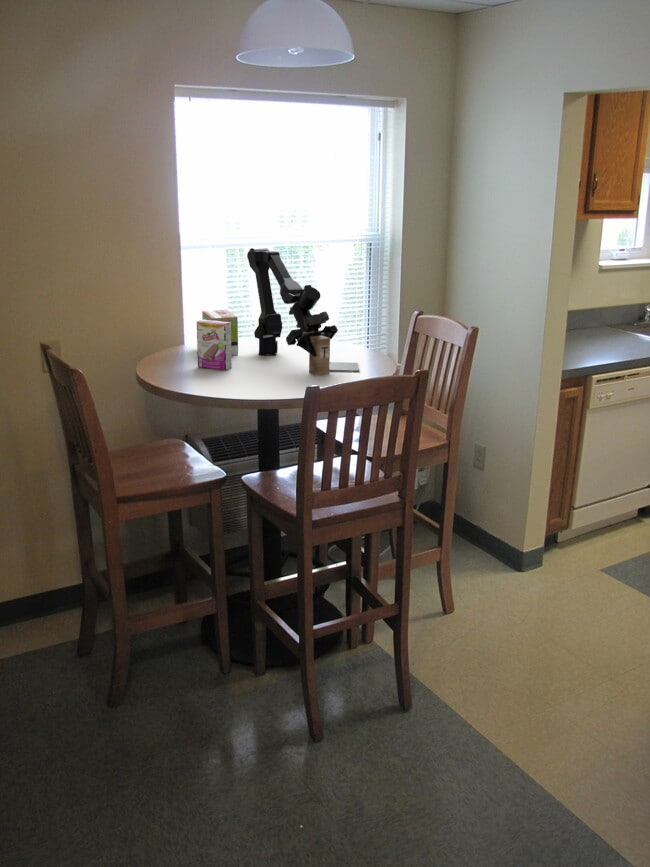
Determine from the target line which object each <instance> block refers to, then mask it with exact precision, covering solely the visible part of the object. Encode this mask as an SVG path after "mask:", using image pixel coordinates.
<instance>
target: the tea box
mask: <svg viewBox="0 0 650 867" xmlns="http://www.w3.org/2000/svg"><path fill="white" fill-rule="evenodd" d="M201 313H202V314H201V316H202V317H201V318H202V319H201V320H203V319H204V320H213V321H222V322H231V355H232V356H238V355H239V333H238V332H239V331H238V330H239V329H238V328H239V327H238V325H239V324H238V323H239V322H238V320H239V319H238V316H237V315H235V314H234V313H232V312H230V311H229V310H227V309H216V310H215V309H213V310H202V311H201Z"/></svg>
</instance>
